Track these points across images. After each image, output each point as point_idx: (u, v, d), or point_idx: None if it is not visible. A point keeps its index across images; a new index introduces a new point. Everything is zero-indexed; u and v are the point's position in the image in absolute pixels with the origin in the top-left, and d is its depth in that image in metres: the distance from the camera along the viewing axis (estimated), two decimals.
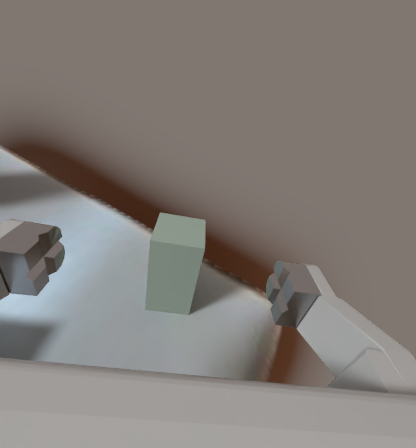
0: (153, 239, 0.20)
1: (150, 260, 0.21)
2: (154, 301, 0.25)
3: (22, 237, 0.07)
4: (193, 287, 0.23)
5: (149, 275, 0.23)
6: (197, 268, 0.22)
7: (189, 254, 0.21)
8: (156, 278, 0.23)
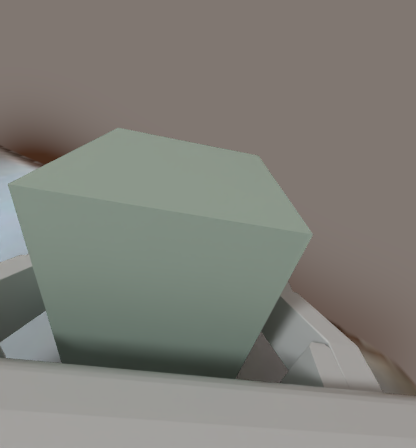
0: (35, 183, 0.04)
1: (48, 292, 0.05)
2: None
3: None
4: (229, 377, 0.07)
5: (63, 344, 0.06)
6: (254, 320, 0.05)
7: (231, 264, 0.04)
8: (93, 355, 0.06)
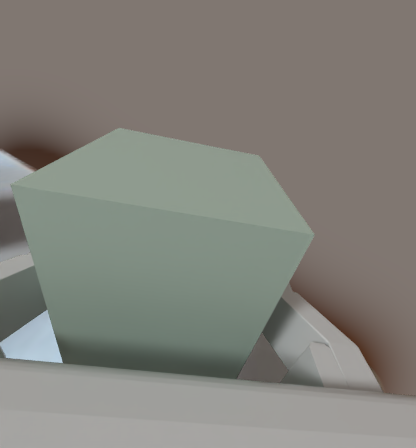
0: (37, 184, 0.04)
1: (50, 292, 0.05)
2: None
3: None
4: (230, 377, 0.07)
5: (65, 344, 0.06)
6: (255, 320, 0.05)
7: (232, 264, 0.04)
8: (94, 354, 0.06)
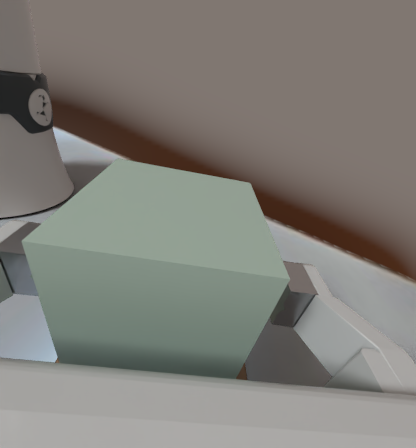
0: (44, 237, 0.04)
1: (54, 324, 0.05)
2: None
3: None
4: None
5: None
6: (241, 347, 0.06)
7: (218, 302, 0.05)
8: None
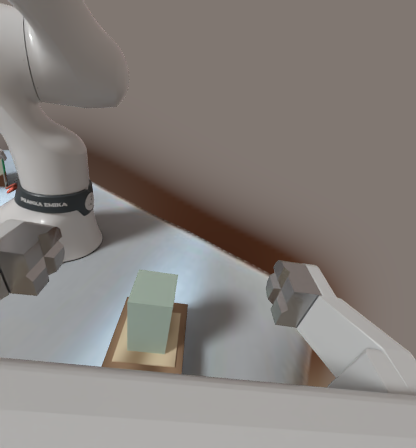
0: (130, 300, 0.25)
1: (128, 315, 0.26)
2: (134, 344, 0.29)
3: (22, 237, 0.07)
4: (166, 334, 0.28)
5: (128, 326, 0.27)
6: (168, 320, 0.26)
7: (161, 311, 0.25)
8: (134, 328, 0.27)
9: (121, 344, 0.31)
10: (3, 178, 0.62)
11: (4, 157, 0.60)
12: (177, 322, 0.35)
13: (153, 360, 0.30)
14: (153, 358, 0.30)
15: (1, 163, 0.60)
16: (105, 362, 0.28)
